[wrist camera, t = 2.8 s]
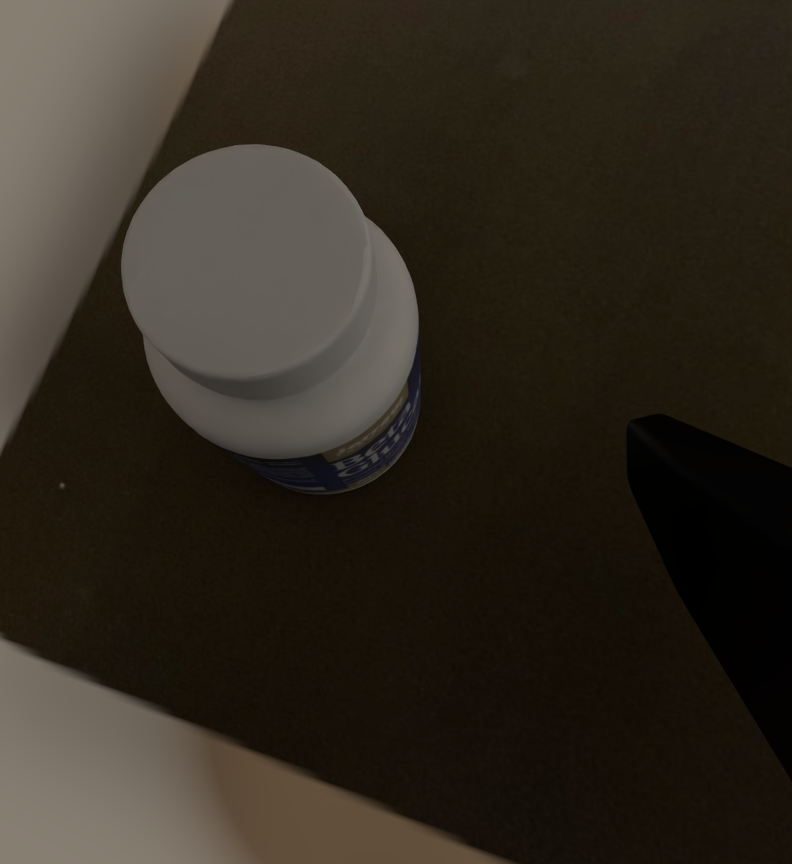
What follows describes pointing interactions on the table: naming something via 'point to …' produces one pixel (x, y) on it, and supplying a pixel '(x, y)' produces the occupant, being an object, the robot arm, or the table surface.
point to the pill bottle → (276, 317)
